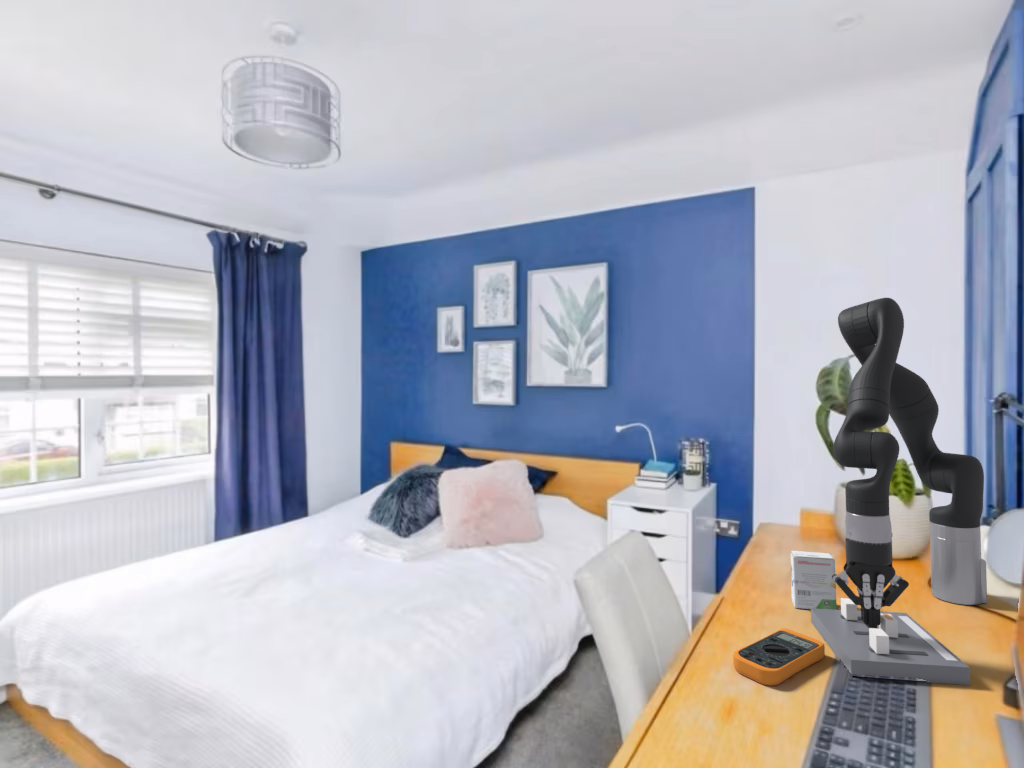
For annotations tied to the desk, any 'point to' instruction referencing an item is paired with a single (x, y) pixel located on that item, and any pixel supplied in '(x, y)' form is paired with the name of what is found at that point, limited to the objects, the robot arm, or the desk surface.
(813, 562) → the ink box
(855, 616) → the block
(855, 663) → the slider switch panel
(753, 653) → the multimeter
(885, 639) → the breaker
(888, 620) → the breaker
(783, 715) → the desk surface
